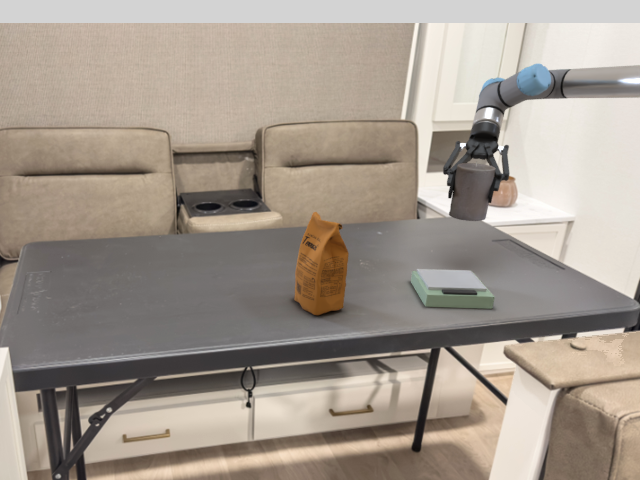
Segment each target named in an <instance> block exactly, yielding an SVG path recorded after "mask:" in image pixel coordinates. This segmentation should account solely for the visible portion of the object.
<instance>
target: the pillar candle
mask: <svg viewBox="0 0 640 480" xmlns="http://www.w3.org/2000/svg"><path fill="white" fill-rule="evenodd" d="M495 169H496V168H494V167H493V166H490V165H489V164H484V163H478V161H475V163H474V162H467V163H462V164H458V165H457V171H456V176H455V183H454V188H453V193H452V197H451V199H450V209H449V212H448V215H449V217H451V218H454V219H456V220H460V221H466V222H481V221H484V220H486V218H487V215H488V210H489V204H490V203H488V200H489V194H490V190H491V185H492V182H493V178H494V174H495Z"/></svg>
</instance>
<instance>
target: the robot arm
mask: <svg viewBox="0 0 640 480" xmlns="http://www.w3.org/2000/svg"><path fill="white" fill-rule="evenodd" d="M627 98H628V99H633V98H634V99H635V98H637V99H639V98H640V64H636V65H635V64H634V65H620V66H619V65H618V66H617V65H616V66H615V65H614V66H600V67H584V68H583V67H582V68H580V67H579V68H562V69H561V68H560V69H548V68H547V67H546V66H545V65H543V64H542V63H534V64H532V65H530V66H526V67H524V68H523V69H521V70H520V71H518V72H516V73H515V74H513V75H510V76H509V77H507V78H506V79H505V78H503V77H495V78H489V79H488V80H486V81H485V82H484V83H483V85H482V87H481V90H480V92H479V95H478V101H477V104H476V108H475V113H474V117H473V121H472V125H471V128H470V132H469V137H468V140H467V141H466V142H461V141H460V140H457V141H456V142H455V145H454V146H455V147H454V149H453V151H452V152H451V154H450V155H449V157H448V158H447V160H446V162H445V164H444V165H443V167H442V174H443V175H445V176H446V175H447V179H446V186H447V187H449V189H448V196H447V199H452V195H453V188H454V183H455V176H456V171H457V165H458V164H462V163H469V162H471V161H472V160H482V161H483V160H484V161H485V160H486V162H487V164H488V165H490V166H493V167H494V168H496V169H495V174H494V178H493V182H492V185H491V190H490V194H489V200H488V203H489V204H492V202H493V196H494V193H495V192H499V190H500V187H501V183H502V182H503V181H505V182H508V181H509V178H510V166H509V165H510V164H509V156H508V154H509V148H510V145H508V144H505V145H504V146H503V145H499V139H500V134H501V129H502V125H503V120H504V117H505V112H506V110H508V109H509V108H513V107H515V106H517V105H518V104H521V103H523V102H526V101H532V100H533V101H534V100H555V99H556V100H559V99H560V100H561V99H627ZM464 149H465V150H466V152H465V154H464V155H462V157H461V158H459V160H457V158H458V157H459V155H460V153H461V152H463V150H464ZM497 152H498V153H499V155H500V156H501V166H502V172H501V170H500V168H499V165H498V163H497V160H496V158H495V156H494V154H496V153H497ZM456 160H457V162H456ZM455 162H456V163H455Z"/></svg>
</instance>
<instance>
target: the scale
mask: <svg viewBox="0 0 640 480" xmlns="http://www.w3.org/2000/svg"><path fill="white" fill-rule="evenodd" d="M410 283H411V285H412V287H413V288H414V290H415V292H416V294H417V295H418V297H419V298H420V300H421V302H422V304H423V305H424V307H426V308H453V309H455V308H456V309H488V310H491V309H492V310H493V307H494V303H495V297H496V296H495V295H494V294H493V293H492V292H491V291H490V290H489V288H488V287H487V286H486V285H485V284H484V282H482V281H481V279H480V278H479V277H478V276H477V275H476V273H474V272H473V270H471V269H470V270H467V269H438V268H437V269H433V268H431V269H430V268H416V270H411V277H410Z"/></svg>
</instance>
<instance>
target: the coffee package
mask: <svg viewBox="0 0 640 480" xmlns="http://www.w3.org/2000/svg"><path fill="white" fill-rule="evenodd" d="M342 229H343V225H342V224H341V223H339V222H335V221H329V220H325V219H324V220H323V219H322V217H321V215H320V213H318V212H317V211H313V212H312V214H311V217H310V220H309V221H308V223H307V226H306V229H305V232H304V234H303V236H302V239H301V242H300V244H299V249H298V254H297V255H298V256H297V260H296V265H295V266H296V267H295V272H294V274H295V275H294V276H295V278H294V280H295V282H294V283H295V284H294V301H295V302H296V303H299V305H300V306H301V308H302V310H304V311H305V312H307V313H310V314H312V315H313V316H321V315H323V314H326V313H329V312H333V311H340V310H342V309H344V303H345V296H346V295H345V294H346V288H347V275H348V263H349V255H350V253H349V251H348V247H347V245H346V244H345V241H344V239H343V238H342V234H341V232H340V230H342Z"/></svg>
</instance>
